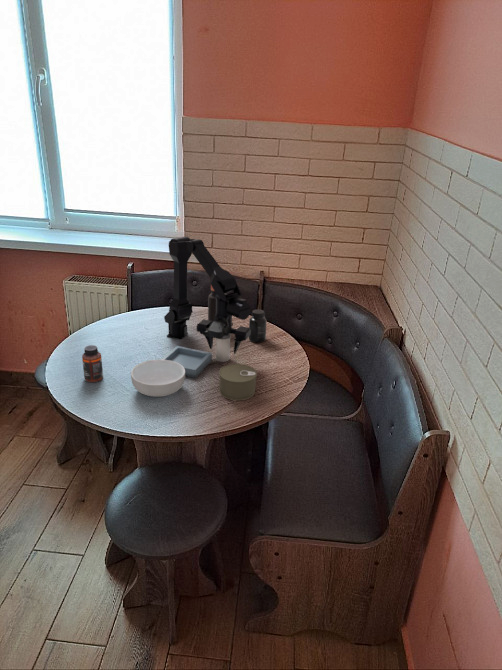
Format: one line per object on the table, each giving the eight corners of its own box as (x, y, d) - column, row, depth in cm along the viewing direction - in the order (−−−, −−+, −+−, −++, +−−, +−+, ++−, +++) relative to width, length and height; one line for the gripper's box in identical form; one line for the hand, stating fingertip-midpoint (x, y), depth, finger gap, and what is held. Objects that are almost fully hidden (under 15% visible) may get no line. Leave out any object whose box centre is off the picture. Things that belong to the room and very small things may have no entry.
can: (220, 380, 166) (220, 362, 163) (256, 382, 166) (257, 364, 163) (217, 399, 155) (217, 380, 152) (255, 402, 155) (256, 382, 152)
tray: (158, 369, 171) (157, 361, 170) (177, 353, 183) (176, 345, 182) (195, 377, 167) (195, 370, 166) (211, 360, 179) (212, 353, 178)
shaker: (213, 360, 179) (213, 334, 175) (218, 354, 184) (219, 329, 179) (226, 363, 178) (227, 337, 173) (232, 357, 182) (232, 331, 178)
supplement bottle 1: (107, 376, 165) (104, 345, 160) (96, 384, 160) (93, 353, 155) (91, 372, 167) (88, 342, 162) (80, 380, 162) (77, 349, 157)
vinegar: (205, 332, 201) (205, 285, 193) (211, 326, 207) (212, 280, 199) (221, 335, 199) (222, 288, 191) (226, 328, 205) (228, 282, 197)
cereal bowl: (161, 410, 148) (160, 390, 145) (120, 393, 156) (119, 373, 153) (196, 387, 161) (196, 368, 158) (157, 372, 169) (156, 354, 166)
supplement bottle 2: (266, 336, 200) (267, 309, 195) (264, 344, 194) (266, 315, 189) (249, 335, 200) (250, 307, 196) (247, 342, 194) (248, 314, 189)
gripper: (189, 314, 169) (189, 355, 175) (240, 323, 163) (239, 365, 170) (203, 303, 178) (202, 343, 185) (252, 312, 173) (250, 352, 179)
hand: (222, 351), depth 179 cm, fingers open, 9 cm apart
